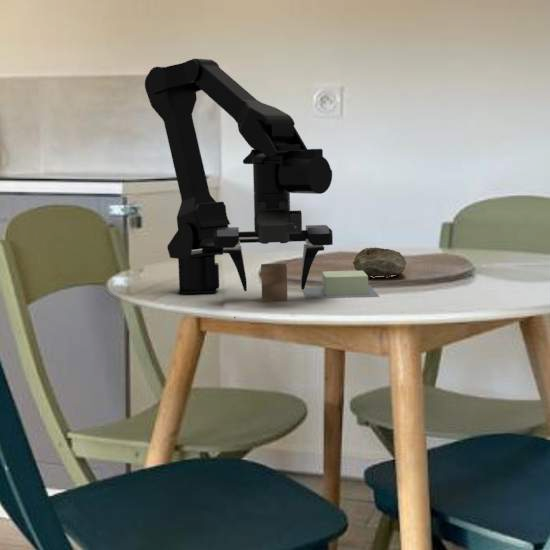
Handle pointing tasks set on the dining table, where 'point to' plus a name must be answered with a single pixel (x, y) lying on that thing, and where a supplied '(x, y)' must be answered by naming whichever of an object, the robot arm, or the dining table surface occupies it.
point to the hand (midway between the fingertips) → (274, 289)
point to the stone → (379, 262)
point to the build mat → (319, 293)
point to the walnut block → (274, 282)
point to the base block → (345, 282)
